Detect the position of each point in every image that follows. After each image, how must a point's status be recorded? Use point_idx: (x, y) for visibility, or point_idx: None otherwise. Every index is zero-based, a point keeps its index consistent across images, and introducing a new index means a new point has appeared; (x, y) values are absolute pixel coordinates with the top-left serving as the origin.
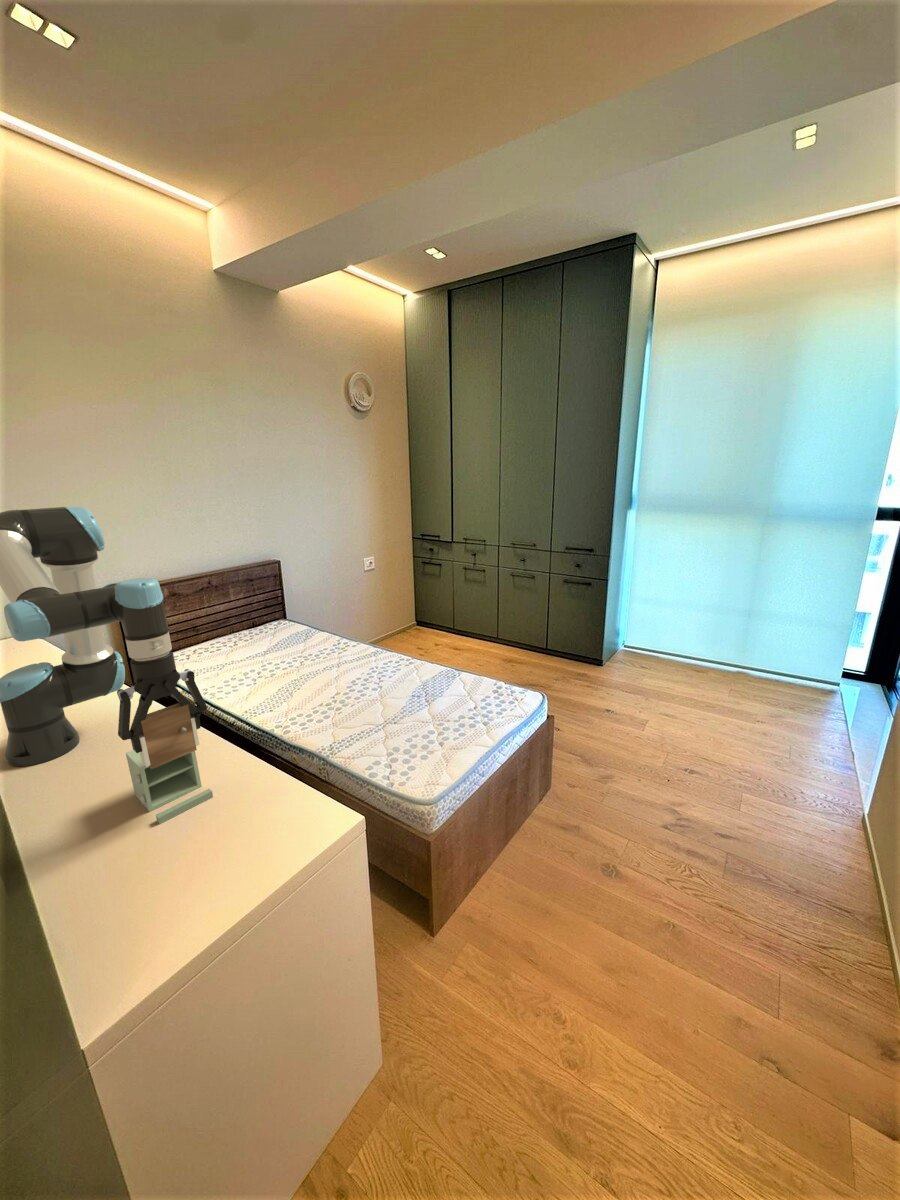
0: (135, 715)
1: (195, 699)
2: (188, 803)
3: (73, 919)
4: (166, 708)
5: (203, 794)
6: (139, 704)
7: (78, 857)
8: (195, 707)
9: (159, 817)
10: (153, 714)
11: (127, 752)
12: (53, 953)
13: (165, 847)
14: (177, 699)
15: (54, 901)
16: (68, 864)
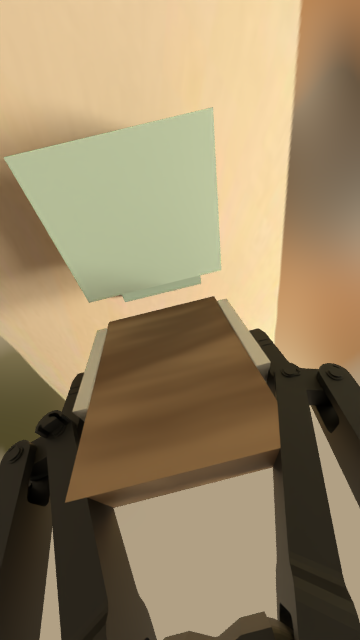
0: (58, 532)
1: (340, 449)
2: (166, 291)
3: (62, 375)
4: (208, 471)
5: (188, 283)
6: (71, 638)
7: (25, 301)
8: (308, 393)
9: (126, 301)
10: (146, 493)
11: (12, 160)
12: (58, 393)
13: None
14: (276, 529)
15: (31, 353)
16: (16, 308)
